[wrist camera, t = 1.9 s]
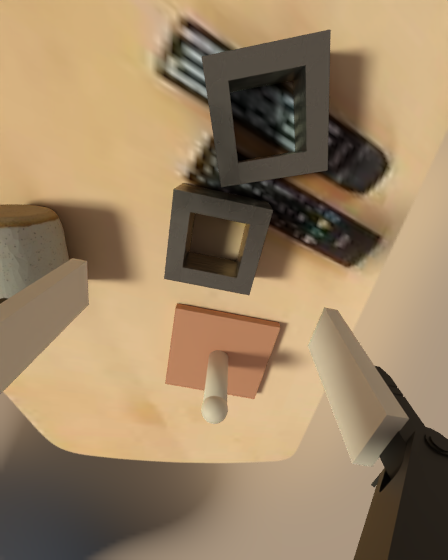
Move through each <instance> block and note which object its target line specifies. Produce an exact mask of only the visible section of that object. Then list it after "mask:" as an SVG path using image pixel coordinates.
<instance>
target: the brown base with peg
mask: <svg viewBox="0 0 448 560" xmlns="http://www.w3.org/2000/svg"><path fill="white" fill-rule="evenodd" d="M279 330H280V324H279V323H278V322H273V321H268V320H262V319H257V318H252V317H247V316H241V315H236V314H231V313H225V312H220V311H215V310H209V309H204V308H199V307H194V306H188V305H183V304H178V303H177V306H176V309H175V316H174V323H173V331H172V338H171V345H170V353H169V360H168V367H167V375H166V382H165V384H170V385H176V386H182V387H187V388H193V389H199V390H205V391H204V399H203V403H202V406H201V412H202V415H203V417H204V419H205V420H206V421H207V422H209V423H212V424H217V423H220V422H221V421H223V420H224V419H225V417H226V415H227V412H228V406H227V394H228V395H234V396H240V397H246V398H251V399H254V398H255V396H256V393H257V390H258V387H259V385H260V382H261V379H262V377H263V374H264V371H265V368H266V366H267V363H268V360H269V358H270V355H271V352H272V349H273V347H274V344H275V341H276V339H277V336H278V333H279Z"/></svg>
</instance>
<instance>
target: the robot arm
mask: <svg viewBox="0 0 448 560" xmlns="http://www.w3.org/2000/svg"><path fill="white" fill-rule="evenodd" d="M88 305H89V300H88V270H87V261H85V260H80V259H75V258H72V259H70V260H69V261H67V262H66V263H64V264H63V265H61V266H59V267H58V268H56V269H55V270H53V271H51V272H50V273H48V274H47V275H45V276H43V277H42V278H40V279H39V280H37V281H36V282H34V283H32V284H31V285H29V286H28V287H26V288H24V289H23V290H21V291H20V292H18V293H16V294H15V295H13V296H12V297H10V298H9V299H8V298H1V299H0V394H1V393H2V392H3V391H4V390H5V389H6V388H7V387H8V386H9V385H10V384H11V383H12V382H13V381H14V380H15V379H16V378H17V377H18V376H19V375H20V374H21V373H22V372H23V371H24V370H25V369H26V368H27V367H28V366H29V365H30V364H31V363H32V361H33V360H34V359H35V358H36V357H37V356H38V355H39V354H40V353H41V352H42V351H43V350H44V349H45V348H46V347H47V346H48V345H49V344H50V343H51V342H52V341H53V340H54V339H55V338H56V337H57V336H58V335H59V334H60V333H61V332H62V331H63V330H64V329H65V328H66V327H67V326H68V325H69V324H70V323H71V322H72V321H73V320H74V319H75V318H76V317H77V316H78V315H79V314H80V313H81V312H82V311H83V310H84V309H85V308H86V307H87V306H88ZM308 348H309V350H310V353H311V356H312V358H313V361H314V364H315V366H316V369H317V371H318V374H319V377H320V379H321V382H322V385H323V387H324V390H325V393H326V395H327V398H328V400H329V403H330V405H331V408H332V411H333V414H334V416H335V419H336V421H337V424H338V427H339V429H340V432H341V435H342V437H343V440H344V443H345V445H346V448H347V451H348V453H349V456H350V458H351V461H352V463H353V464H359V465H364V466H373V465H374V464H375V462H376V461H377V459H378V458H379V457H380V458H381V461H382V463H383V465H384V467H385V468H384V469H383V471H382V472H381V473H380V474H379V476H378V477H377V478H376V479H375V481H374V482H373V483H372V484H371V485H372V486H373V487H375V486H376V485H377V486H376V489H375V493H374V496H373V499H372V502H371V506H370V509H369V512H368V515H367V518H366V522H365V525H364V528H363V531H362V534H361V537H360V541H359V544H358V547H357V550H356V554H355V557H354V560H448V439H446V438H445V437H444V436H443V435H441V434H440V433H438V432H436V431H434V430H432V429H431V428H427V427H425V426H424V424H423V423H422V421H421V420H420V418H419V417H418V416H417V414H416V413H415V411H414V410H413V409H412V407H411V406H410V404H409V403H408V401H407V400H406V398H405V397H403V394H402V393H401V391H400V390H399V389H398V388H397V386H396V384H395V383H394V381H393V380H392V378H391V377H390V376H389V375H388V374H387V373H386V372H385V371H384V370H383V369H381V368H380V367H377V366H374V365H373V363H372V362H371V360H370V359H369V357H368V356H367V354H366V353H365V351H364V350H363V348H362V347H361V345H360V343H359V342H358V340H357V339H356V337H355V336H354V335H353V333H352V331H351V330H350V328H349V327H348V325H347V324H346V322H345V321H344V319H343V318H342V316H341V315H340V313H339V312H338V310H334V309H329V308H324V309H323V312H322V314H321V316H320V319H319V321H318V323H317V326H316V328H315V330H314V332H313V335H312V337H311V339H310V342H309V344H308Z"/></svg>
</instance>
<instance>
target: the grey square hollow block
mask: <svg viewBox="0 0 448 560" xmlns="http://www.w3.org/2000/svg"><path fill="white" fill-rule="evenodd" d="M202 62H203V69H204V76H205V82H206V89H207V96H208V102H209V109H210V116H211V122H212V129H213V136H214V142H215V149H216V156H217V162H218V169H219V176H220V182H221V187H226V186H232V185H238V184H245V183H251V182H257V181H264V180H270V179H276V178H283V177H289V176H295V175H302V174H308V173H315V172H321V171H327V170H328V125H329V77H330V30H326V31H321V32H316V33H312V34H307V35H302V36H297V37H293V38H288V39H283V40H278V41H274V42H269V43H264V44H259V45H255V46H250V47H245V48H240V49H236V50H231V51H226V52H221V53H217V54H212V55H207V56H202ZM288 81H293V92H294V126H295V152H289V153H283V154H277V155H271V156H265V157H259V158H253V159H247V160H241V161H238V159H237V150H236V142H235V133H234V125H233V117H232V108H231V100H230V93H231V92H236V91H241V90H247V89H252V88H257V87H262V86H267V85H272V84H278V83H283V82H288Z"/></svg>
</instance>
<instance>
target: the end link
mask: <svg viewBox="0 0 448 560" xmlns="http://www.w3.org/2000/svg"><path fill="white" fill-rule="evenodd" d="M272 212H273V209H272V208H271V206H270V204H269V203H268V201H263V200H259V199H254V198H249V197H245V196H240V195H235V194H231V193H226V192H221V191H217V190H212V189H207V188H203V187H198V186H193V185H189V184H184V183H183V184H181V185H179V186H178V187H176V188H175V189H174V192H173V201H172V210H171V220H170V229H169V239H168V248H167V257H166V267H165V276H164V279H168V280H173V281H178V282H183V283H189V284H194V285H199V286H204V287H209V288H214V289H220V290H225V291H230V292H235V293H240V294H245V295H249V294H250V291H251V287H252V284H253V280H254V276H255V273H256V269H257V266H258V262H259V259H260V255H261V251H262V248H263V244H264V241H265V237H266V234H267V230H268V227H269V223H270V219H271V216H272ZM195 213H197V214H202V215H207V216H212V217H217V218H221V219H226V220H231V221H236V222H241V223H245V224H246V225H245V229H244V233H243V237H242V241H241V246H240V250H239V254H238V258H237V261H233V260H228V259H223V258H218V257H213V256H208V255H203V254H198V253H193V252H189V251H190V245H191V238H192V231H193V224H194V218H195Z"/></svg>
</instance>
